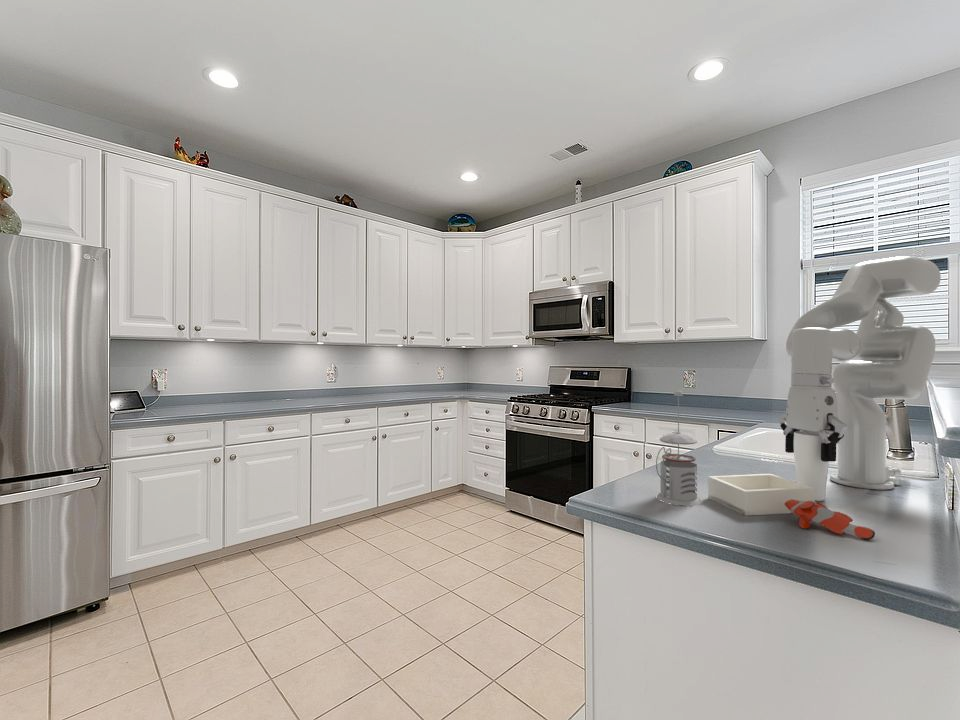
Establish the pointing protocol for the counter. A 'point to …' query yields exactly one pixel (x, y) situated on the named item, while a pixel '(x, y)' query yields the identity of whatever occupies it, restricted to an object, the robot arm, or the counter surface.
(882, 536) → the counter surface
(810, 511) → the fish
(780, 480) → the bin
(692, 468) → the french press
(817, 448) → the drinking glass
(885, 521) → the counter surface
